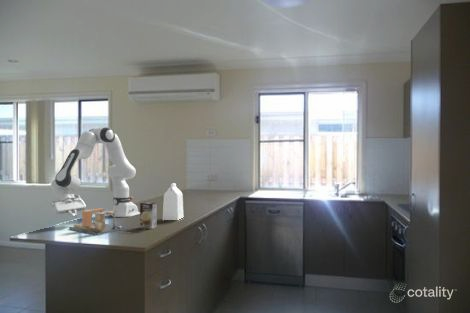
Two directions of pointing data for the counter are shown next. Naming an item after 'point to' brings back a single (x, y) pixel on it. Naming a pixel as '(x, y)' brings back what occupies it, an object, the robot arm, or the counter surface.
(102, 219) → the fixed leg
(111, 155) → the robot arm
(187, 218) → the counter surface
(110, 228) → the hole plate
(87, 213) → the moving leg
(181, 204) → the milk
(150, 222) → the coffee box
